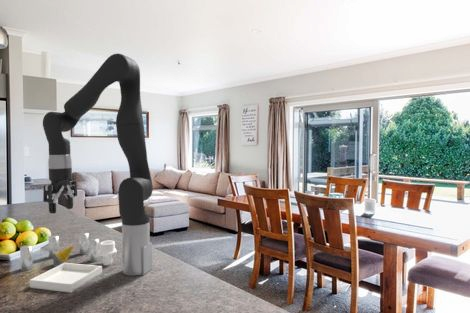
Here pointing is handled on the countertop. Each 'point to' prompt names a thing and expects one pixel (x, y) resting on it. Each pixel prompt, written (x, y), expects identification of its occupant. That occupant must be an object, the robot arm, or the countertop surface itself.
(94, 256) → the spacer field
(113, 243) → the pipe fitting
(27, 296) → the countertop surface
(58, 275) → the tray
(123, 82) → the robot arm
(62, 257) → the stepped yellow cone
